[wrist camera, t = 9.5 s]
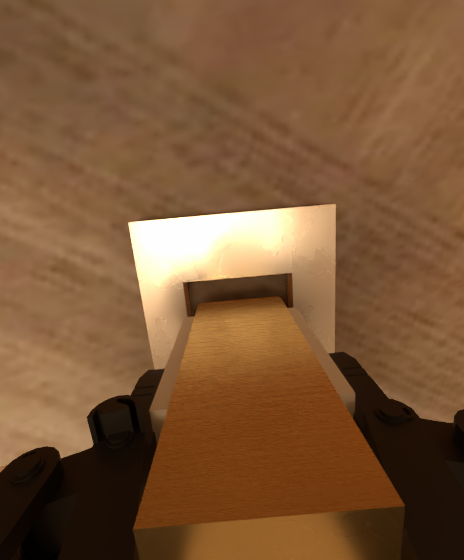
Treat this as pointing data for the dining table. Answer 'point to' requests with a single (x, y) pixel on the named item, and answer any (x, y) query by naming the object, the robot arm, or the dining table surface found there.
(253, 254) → the rail plate
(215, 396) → the brass peg
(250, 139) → the dining table surface
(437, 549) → the robot arm
